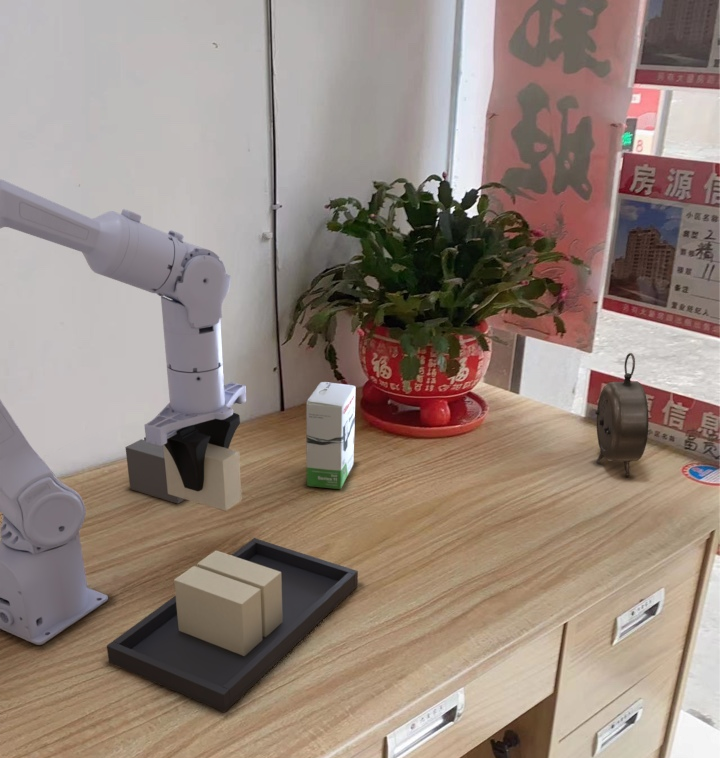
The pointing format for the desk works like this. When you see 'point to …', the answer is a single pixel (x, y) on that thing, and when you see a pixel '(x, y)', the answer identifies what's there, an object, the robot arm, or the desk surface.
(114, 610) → the desk surface
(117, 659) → the tray
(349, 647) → the desk surface
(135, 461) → the gray rectangular block
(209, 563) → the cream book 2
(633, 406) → the alarm clock
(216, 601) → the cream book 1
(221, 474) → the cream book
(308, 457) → the ink box
